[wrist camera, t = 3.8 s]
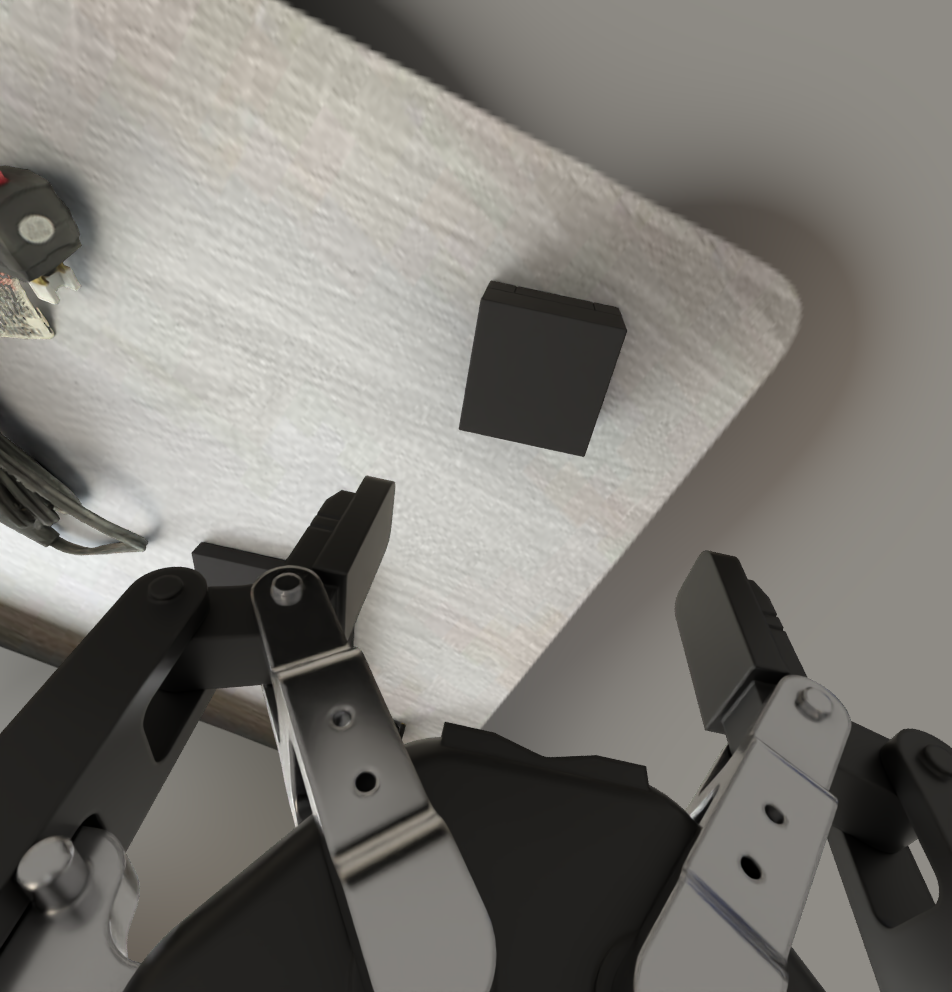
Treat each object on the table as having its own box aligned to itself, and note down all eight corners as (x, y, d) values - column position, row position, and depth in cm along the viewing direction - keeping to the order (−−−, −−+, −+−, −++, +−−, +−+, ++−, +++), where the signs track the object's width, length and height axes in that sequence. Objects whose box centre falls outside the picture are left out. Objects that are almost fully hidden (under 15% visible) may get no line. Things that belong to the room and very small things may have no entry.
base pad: (356, 575, 35) (343, 603, 33) (351, 674, 41) (340, 702, 39) (201, 541, 35) (178, 566, 33) (219, 644, 42) (200, 671, 39)
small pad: (619, 307, 23) (627, 329, 20) (581, 424, 27) (584, 457, 24) (490, 280, 24) (480, 298, 21) (469, 399, 27) (458, 430, 24)
